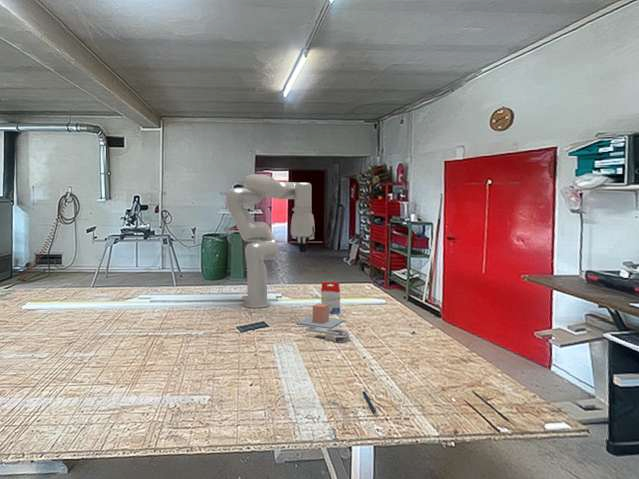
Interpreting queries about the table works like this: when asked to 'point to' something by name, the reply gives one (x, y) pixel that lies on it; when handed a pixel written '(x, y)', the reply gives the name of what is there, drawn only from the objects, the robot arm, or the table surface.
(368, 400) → the pencil
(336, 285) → the ink box
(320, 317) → the salmon pink block
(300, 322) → the post fixture
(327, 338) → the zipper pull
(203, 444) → the table surface
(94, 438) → the table surface
